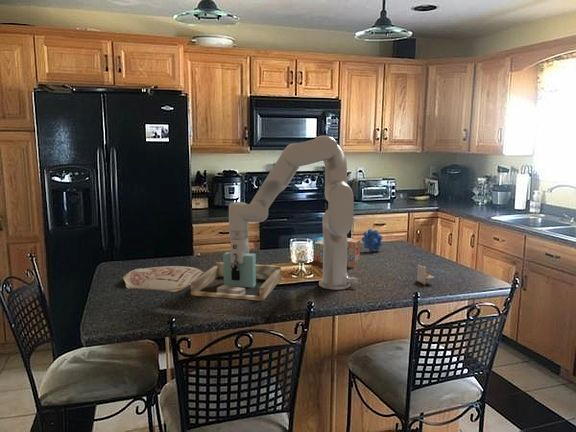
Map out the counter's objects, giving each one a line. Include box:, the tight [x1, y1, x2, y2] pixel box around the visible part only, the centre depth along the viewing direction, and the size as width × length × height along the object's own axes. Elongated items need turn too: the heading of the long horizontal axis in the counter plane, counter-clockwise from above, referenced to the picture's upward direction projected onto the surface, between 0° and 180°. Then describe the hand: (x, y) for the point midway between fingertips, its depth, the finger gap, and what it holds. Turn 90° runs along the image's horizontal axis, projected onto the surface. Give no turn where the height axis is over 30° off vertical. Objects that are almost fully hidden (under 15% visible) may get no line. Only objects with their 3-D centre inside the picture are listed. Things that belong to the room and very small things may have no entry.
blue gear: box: [361, 228, 384, 252], centre depth 250 cm, size 12×7×12 cm, turn 104°
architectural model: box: [416, 264, 435, 285], centre depth 199 cm, size 3×7×7 cm, turn 18°
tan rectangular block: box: [313, 237, 362, 269], centre depth 229 cm, size 21×6×12 cm, turn 58°
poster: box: [122, 265, 205, 293], centre depth 204 cm, size 28×6×30 cm
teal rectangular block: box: [222, 251, 257, 288], centre depth 192 cm, size 12×4×14 cm, turn 77°
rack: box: [190, 261, 282, 302], centre depth 190 cm, size 28×27×7 cm
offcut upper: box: [216, 284, 246, 295], centre depth 183 cm, size 10×4×2 cm, turn 66°
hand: (239, 276), depth 192 cm, fingers open, 9 cm apart
